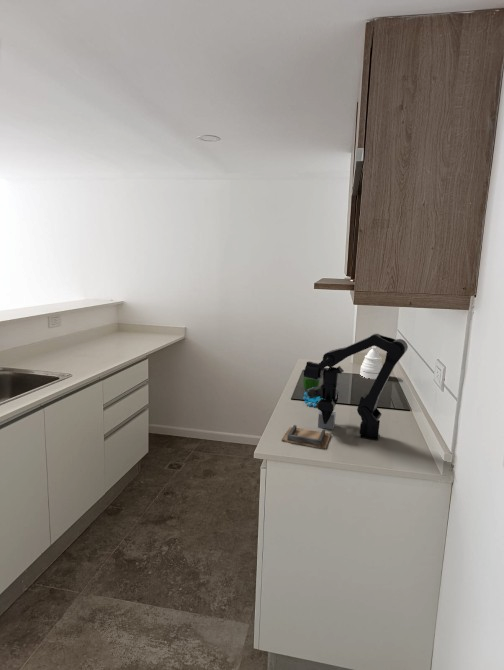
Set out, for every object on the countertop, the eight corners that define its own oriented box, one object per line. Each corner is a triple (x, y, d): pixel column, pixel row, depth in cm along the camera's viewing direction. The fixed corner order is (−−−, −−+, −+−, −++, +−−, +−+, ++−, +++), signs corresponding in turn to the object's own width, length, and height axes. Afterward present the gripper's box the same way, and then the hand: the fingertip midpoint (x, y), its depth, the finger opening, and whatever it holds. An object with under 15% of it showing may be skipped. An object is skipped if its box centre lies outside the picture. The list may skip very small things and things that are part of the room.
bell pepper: (317, 393, 212) (318, 373, 210) (301, 390, 214) (302, 371, 213) (319, 388, 220) (321, 369, 218) (304, 386, 222) (305, 367, 221)
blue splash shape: (298, 400, 194) (309, 383, 197) (301, 406, 198) (311, 389, 202) (320, 409, 188) (330, 391, 191) (322, 415, 192) (332, 397, 196)
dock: (330, 435, 161) (331, 429, 160) (325, 448, 148) (326, 442, 148) (289, 428, 165) (290, 422, 165) (281, 441, 153) (281, 434, 153)
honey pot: (383, 380, 241) (386, 349, 238) (360, 377, 244) (362, 347, 241) (381, 374, 254) (384, 345, 250) (359, 372, 256) (362, 343, 253)
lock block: (334, 425, 171) (335, 412, 170) (332, 429, 166) (334, 416, 165) (319, 422, 173) (320, 410, 172) (317, 427, 168) (318, 414, 167)
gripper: (313, 374, 177) (311, 409, 180) (305, 385, 160) (302, 424, 163) (340, 377, 174) (337, 413, 177) (334, 389, 157) (331, 429, 159)
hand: (326, 419), depth 169 cm, fingers open, 9 cm apart
